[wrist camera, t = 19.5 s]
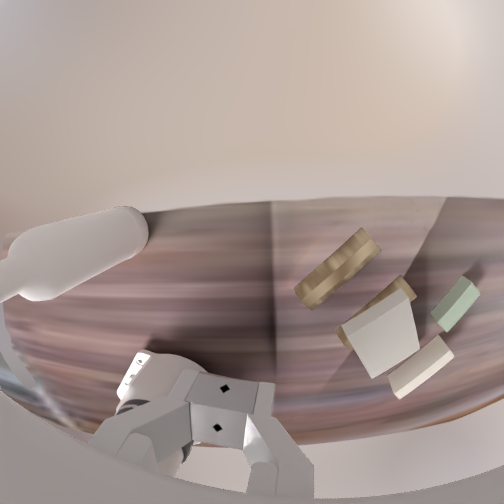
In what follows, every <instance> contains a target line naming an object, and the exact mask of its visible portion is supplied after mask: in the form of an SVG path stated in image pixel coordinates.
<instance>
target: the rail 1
mask: <svg viewBox="0 0 504 504" xmlns="http://www.w3.org/2000/svg"><path fill="white" fill-rule="evenodd" d="M380 251H381V249H380V248H379V246H378V245H377V244H376V243H375V241H374V240H373V239H372V238H371V237H370V236H369V234H368V233H367V232H366V231H365V230H364V229H363V228H362V227H361V228H360V229H359V230H358V231H357V232H356V233H355V234H354V235H353V236H351V237H350V238H349V239H348V240H347V241H346V242H345V243H344V244H343V245H342V246H341V247H339V248H338V249H337V250H336V251H335V252H334V253H333V254H332V255H331V256H329V257H328V258H327V259H326V260H325V261H324V262H323V263H322V264H320V265H319V266H318V267H317V268H316V269H315V270H314V271H313V272H311V273H310V274H309V275H308V276H307V277H306V278H305V279H303V280H302V281H301V282H300V283H299V284H298V285H296V286H295V287H294V290H295V292H296V294H297V296H298V297H299V299H300V300H301V302H302V303H303V304H304V305H305V306H306V307H307V308H309V309H311V310H313V309H315V308H316V307H317V306H318V305H319V304H321V303H322V302H323V301H324V300H325V299H327V298H328V297H329V296H330V295H331V294H333V293H334V292H335V291H336V290H337V289H339V288H340V287H341V286H342V285H343V284H344V283H346V282H347V281H348V280H349V279H350V278H351V277H352V276H354V275H355V274H356V273H357V272H358V271H359V270H360V269H361V268H363V267H364V266H365V265H366V264H367V263H368V262H369V261H370V260H371V259H373V258H374V257H375V256H376V255H377V254H378V253H379V252H380Z"/></svg>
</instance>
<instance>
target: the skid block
mask: <svg viewBox="0 0 504 504" xmlns="http://www.w3.org/2000/svg"><path fill="white" fill-rule="evenodd" d="M479 295H480V292H479V291H478V290H477V288H476V287H475V285H474V284H473V283H472V282H471V281H470V280H468V279H467V278H465V277H464V276H461V277H460V279H459V280H458V281H457V282H456V284H455V285H454V286H453V287H452V288H451V290H450V291H449V292H448V293H447V294H446V295H445V297H444V298H443V299H442V300H441V301H440V302H439V303H438V305H437V306H436V307H435V308H434V309H433V310H432V311H431V312H430V314H431V315H432V317H433V318H434V319H435V320H436V321H437V323H438V324H439V325H440V326H441V327H442V328H443V329H444V330H445V331H446V332H448V331H449V330H450V329H451V328H452V327H453V326H454V325H455V323H456V322H457V321H458V320H459V319H460V318H461V317H462V316H463V314H464V313H465V312H466V311H467V310H468V309H469V307H470V306H471V305H472V304H473V303H474V301H475V300H476V299H477V298H478V296H479Z"/></svg>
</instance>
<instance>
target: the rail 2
mask: <svg viewBox="0 0 504 504" xmlns="http://www.w3.org/2000/svg"><path fill="white" fill-rule="evenodd" d="M400 288H401V289H402V290H403V291H404V292H405V294H406V295H407V296H408V297H409V301H410V303H411V302H412V301H413V300H414V299H415V298H416V297H417V296H416V294H415V293H414V291H413V290H412V289H411V287H410V286H409V285H408V284H407V282H406V281H405V280H404V279H403V278H402V277H401V276H398V277H397V278H396V279H395V280H394V281H393V282H392V283H391V284H390V285H388V286H387V287H386V288H385V289H384V290H383V291H382V292H381V293H379V294H378V295H377V296H376V297H375V298H374V299H372V300H371V301H370V302H369V303H368V304H367V305H365V306H364V307H363V308H362V309H361V310H359V311H358V312H357V313H356V314H354V315H353V316H352V317H351V318H350V319H348V320H347V321H346V322H348V321H349V320H351V319H353V318H354V317H356V316H358V315H359V314H361V313H362V312H364V311H366V310H367V309H369V308H370V307H372V306H374V305H375V304H377V303H378V302H380V301H381V300H383V299H385V298H386V297H388V296H389V295H391V294H392V293H394V292H395V291H397V290H398V289H400ZM346 322H345V323H346ZM343 324H344V323H343ZM336 333H337V335H338V337H339V338H340V340H341V341H342V343H343V344H344V345H345V346H346V347H347V348H348V349H349V350H353V349H354V348H353V346H352V345H351V343H350V341H349V340H348V338H347V336H346V334H345V332H344V330H343V329H342V327H341V326H340V327H338V328H337V329H336Z"/></svg>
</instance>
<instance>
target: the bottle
mask: <svg viewBox="0 0 504 504" xmlns="http://www.w3.org/2000/svg"><path fill="white" fill-rule="evenodd" d="M148 235H149V232H148V225H147V222H146V220H145V218H144V216H143V215H142V214H141V213H140V212H139V211H138V210H137V209H135V208H133V207H127V206H123V207H115V208H113V209H109V210H105V211H100V212H95V213H91V214H87V215H82V216H78V217H73V218H69V219H66V220H61V221H57V222H53V223H49V224H46V225H41V226H38V227H34V228H31V229H29V230H27V231H25V232H24V233H22V234H21V235H20V236H19V237H17V238H16V239H15V240H14V241H13V243H12V244H11V246H10V248H9V252H8V255H7V258H5V259H3V260H0V303H1V302H3V301H5V300H7V299H9V298H11V297H13V296H15V295H17V294H20V295H21V296H23V297H24V298H26V299H28V300H30V301H43V300H49V299H53V298H55V297H57V296H59V295H61V294H62V293H64V292H66V291H68V290H70V289H71V288H73V287H75V286H77V285H79V284H81V283H82V282H84V281H86V280H88V279H90V278H92V277H94V276H95V275H97V274H99V273H101V272H103V271H105V270H107V269H109V268H111V267H113V266H115V265H116V264H118V263H120V262H122V261H124V260H126V259H130V258H132V257H133V256H135V255H136V254H138V253H139V252H140V251H142V250H143V249H144V247H145V245H146V244H147V241H148Z"/></svg>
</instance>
